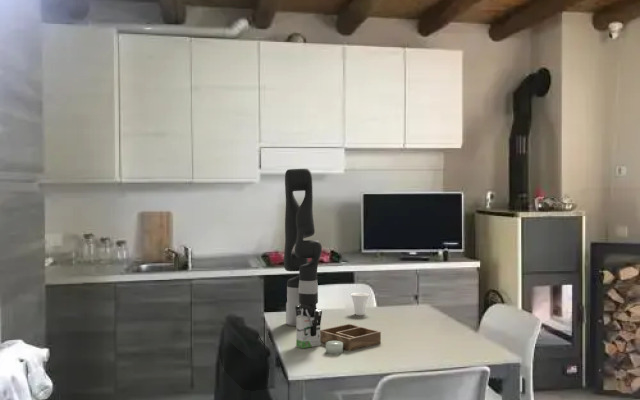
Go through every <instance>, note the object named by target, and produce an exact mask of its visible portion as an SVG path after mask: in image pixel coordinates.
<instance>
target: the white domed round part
mask: <svg viewBox="0 0 640 400" xmlns="http://www.w3.org/2000/svg"><path fill="white" fill-rule="evenodd" d="M342 352H343V353H344V349H343V342H341V341H328V342H326V344H325V353H326V354H328V353H329V355H341V354H343V353H342Z"/></svg>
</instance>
